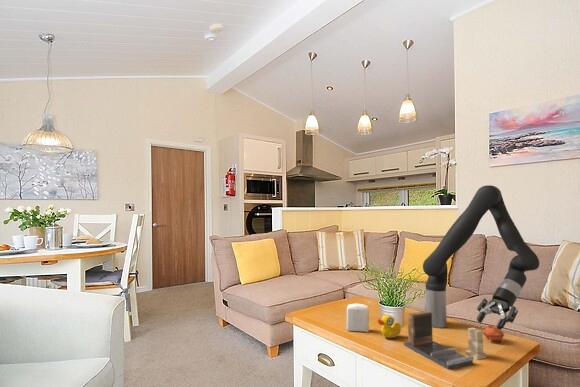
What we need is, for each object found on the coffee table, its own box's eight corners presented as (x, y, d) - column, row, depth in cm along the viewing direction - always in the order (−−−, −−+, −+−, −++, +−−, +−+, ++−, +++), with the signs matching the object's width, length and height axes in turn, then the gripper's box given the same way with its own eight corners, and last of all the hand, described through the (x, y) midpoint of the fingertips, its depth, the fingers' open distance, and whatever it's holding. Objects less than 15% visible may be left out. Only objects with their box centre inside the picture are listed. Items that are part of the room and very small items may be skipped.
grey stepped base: (404, 345, 143) (404, 338, 144) (426, 341, 148) (426, 334, 148) (448, 369, 122) (448, 362, 122) (473, 364, 126) (473, 356, 126)
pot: (503, 345, 142) (498, 328, 143) (483, 345, 147) (478, 329, 149) (508, 339, 148) (503, 323, 149) (488, 339, 153) (483, 323, 154)
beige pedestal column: (465, 354, 135) (465, 328, 135) (475, 352, 137) (474, 326, 137) (476, 359, 130) (476, 332, 131) (486, 357, 132) (485, 330, 132)
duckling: (381, 341, 148) (381, 318, 148) (374, 337, 153) (374, 314, 153) (403, 338, 151) (403, 315, 152) (396, 334, 157) (395, 311, 157)
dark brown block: (408, 342, 142) (407, 313, 143) (427, 339, 146) (426, 310, 147) (414, 345, 139) (413, 315, 140) (433, 342, 143) (432, 313, 143)
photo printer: (368, 329, 163) (368, 303, 163) (369, 332, 158) (369, 305, 159) (346, 328, 164) (346, 302, 165) (346, 331, 160) (346, 304, 161)
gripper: (486, 283, 147) (467, 313, 142) (519, 290, 134) (500, 324, 129) (495, 294, 149) (477, 325, 144) (529, 303, 135) (510, 336, 131)
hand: (488, 324), depth 136 cm, fingers open, 8 cm apart
